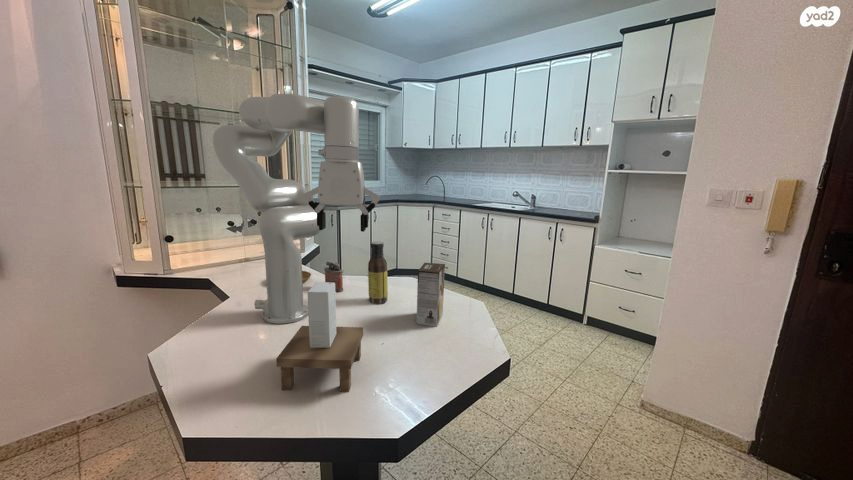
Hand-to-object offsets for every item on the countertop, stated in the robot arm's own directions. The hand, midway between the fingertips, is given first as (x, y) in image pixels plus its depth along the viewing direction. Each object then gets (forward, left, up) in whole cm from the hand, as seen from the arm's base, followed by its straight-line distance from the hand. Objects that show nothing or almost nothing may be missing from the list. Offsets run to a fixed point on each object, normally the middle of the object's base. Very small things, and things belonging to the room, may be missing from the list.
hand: (342, 230), depth 81 cm
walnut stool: (-1, -14, -28) cm, 32 cm away
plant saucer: (-30, +44, -29) cm, 61 cm away
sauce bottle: (+5, +27, -28) cm, 40 cm away
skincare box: (-1, -14, -22) cm, 26 cm away
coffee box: (+22, +14, -28) cm, 39 cm away
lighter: (-12, +37, -28) cm, 48 cm away
